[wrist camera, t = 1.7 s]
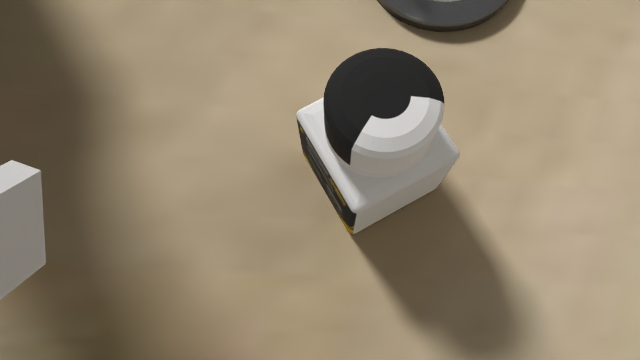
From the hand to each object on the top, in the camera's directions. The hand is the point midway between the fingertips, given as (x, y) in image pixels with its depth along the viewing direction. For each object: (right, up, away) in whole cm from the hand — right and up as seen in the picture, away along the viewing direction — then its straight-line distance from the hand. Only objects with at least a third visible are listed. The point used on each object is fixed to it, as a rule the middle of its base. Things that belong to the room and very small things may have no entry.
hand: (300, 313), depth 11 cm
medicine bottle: (+4, +4, +26) cm, 26 cm away
